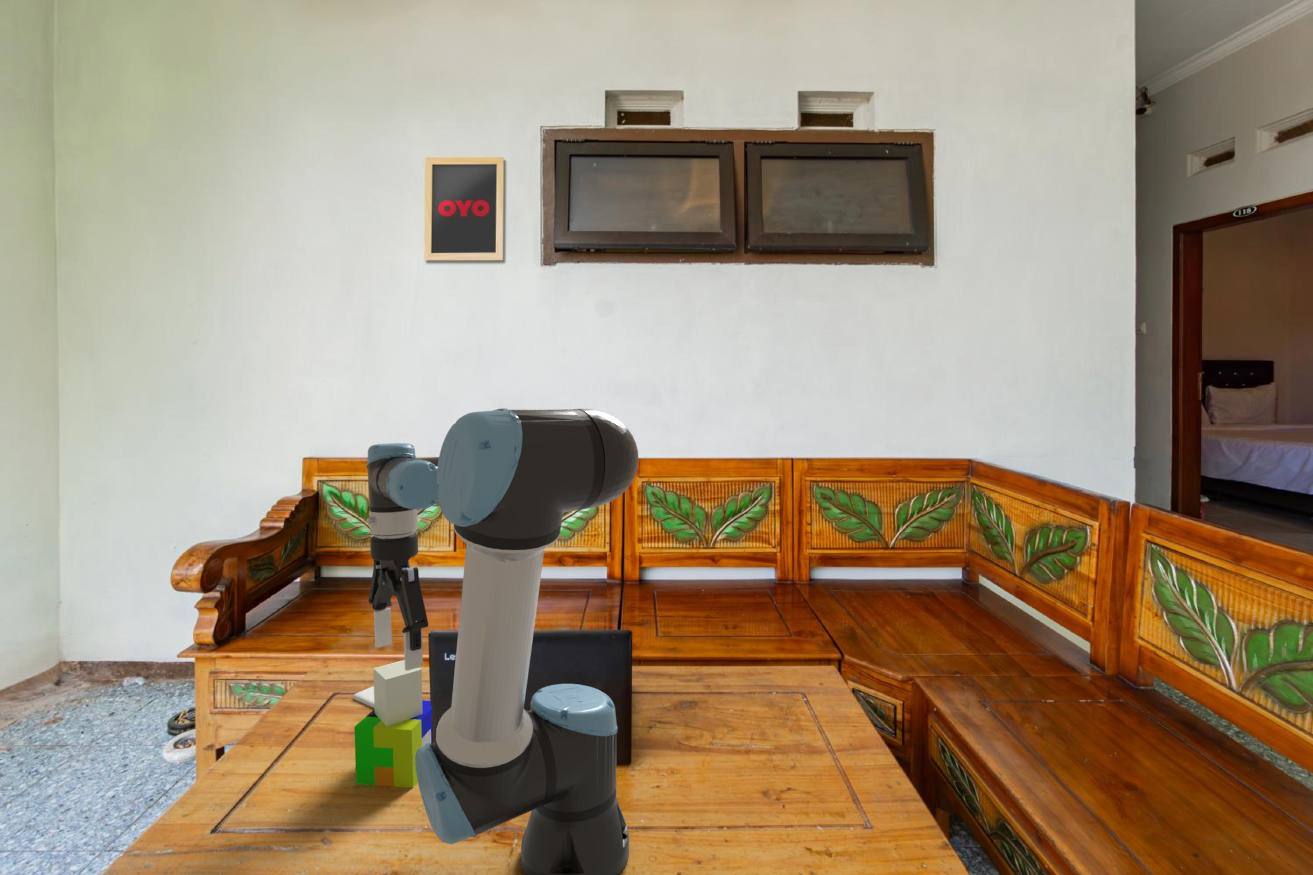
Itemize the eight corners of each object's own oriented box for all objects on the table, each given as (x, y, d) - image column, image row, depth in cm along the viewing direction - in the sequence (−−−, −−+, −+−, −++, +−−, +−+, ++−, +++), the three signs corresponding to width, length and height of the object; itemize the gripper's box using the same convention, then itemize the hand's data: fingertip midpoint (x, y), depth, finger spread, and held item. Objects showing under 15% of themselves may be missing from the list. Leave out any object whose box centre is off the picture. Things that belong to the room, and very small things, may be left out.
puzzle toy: (440, 754, 115) (438, 700, 114) (413, 788, 105) (411, 729, 104) (387, 751, 116) (386, 698, 115) (356, 784, 106) (354, 726, 105)
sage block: (422, 714, 109) (421, 669, 109) (386, 726, 105) (385, 679, 105) (409, 701, 114) (408, 658, 113) (374, 713, 110) (373, 668, 109)
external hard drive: (387, 686, 143) (423, 700, 136) (353, 701, 136) (388, 717, 129) (387, 679, 142) (422, 693, 136) (353, 694, 136) (388, 709, 129)
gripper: (346, 527, 114) (351, 642, 115) (400, 549, 96) (404, 685, 97) (389, 521, 119) (392, 632, 121) (447, 541, 101) (451, 671, 102)
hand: (398, 656), depth 109 cm, fingers open, 13 cm apart
